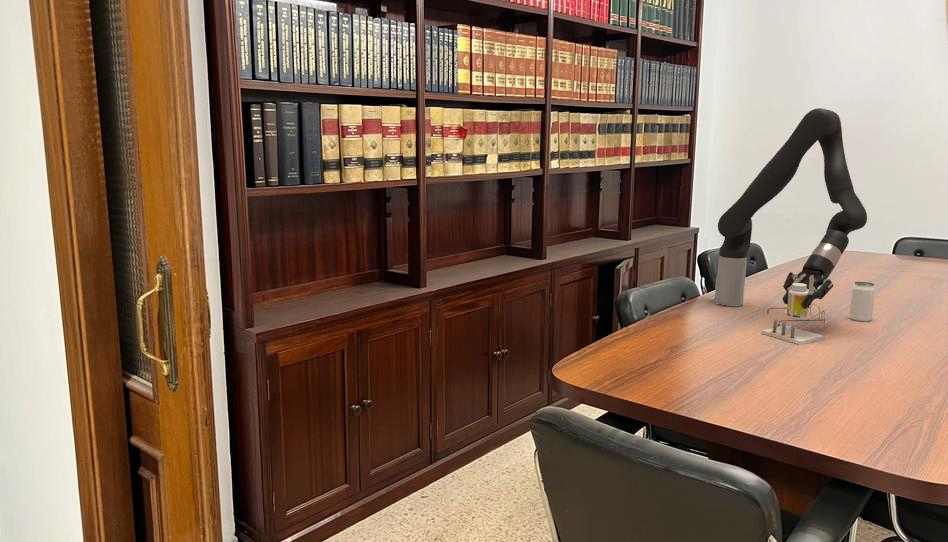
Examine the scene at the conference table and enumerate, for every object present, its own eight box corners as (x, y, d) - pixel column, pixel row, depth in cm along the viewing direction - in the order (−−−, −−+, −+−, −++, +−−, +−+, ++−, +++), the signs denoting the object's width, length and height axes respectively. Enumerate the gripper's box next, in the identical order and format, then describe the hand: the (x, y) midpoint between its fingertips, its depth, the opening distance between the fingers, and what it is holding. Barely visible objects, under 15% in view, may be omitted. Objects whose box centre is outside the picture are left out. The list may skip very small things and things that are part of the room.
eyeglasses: (828, 330, 215) (830, 314, 214) (777, 327, 217) (779, 312, 216) (813, 316, 230) (815, 302, 229) (766, 314, 233) (768, 300, 232)
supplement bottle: (811, 318, 205) (814, 285, 203) (798, 321, 202) (800, 287, 200) (795, 314, 210) (798, 281, 208) (782, 316, 207) (785, 283, 205)
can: (874, 322, 221) (879, 286, 219) (852, 321, 223) (857, 285, 220) (867, 317, 228) (871, 281, 225) (846, 316, 229) (850, 280, 226)
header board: (761, 333, 209) (762, 317, 208) (784, 328, 215) (786, 312, 214) (800, 344, 198) (801, 328, 197) (823, 339, 204) (825, 322, 203)
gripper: (796, 250, 212) (767, 292, 208) (840, 257, 200) (811, 302, 196) (805, 265, 216) (777, 307, 212) (849, 273, 203) (821, 317, 200)
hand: (794, 304), depth 204 cm, fingers closed on supplement bottle, 5 cm apart
